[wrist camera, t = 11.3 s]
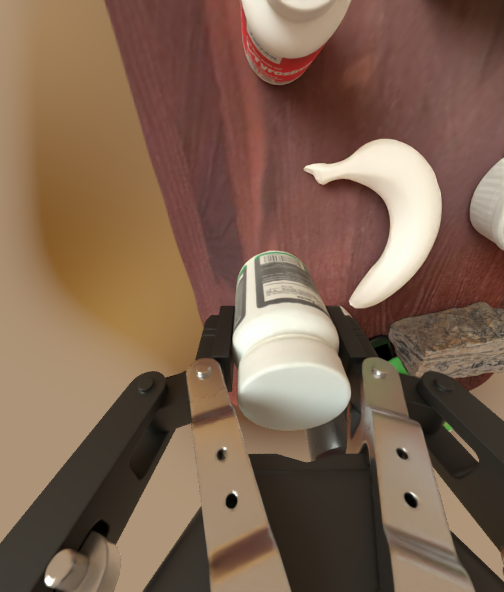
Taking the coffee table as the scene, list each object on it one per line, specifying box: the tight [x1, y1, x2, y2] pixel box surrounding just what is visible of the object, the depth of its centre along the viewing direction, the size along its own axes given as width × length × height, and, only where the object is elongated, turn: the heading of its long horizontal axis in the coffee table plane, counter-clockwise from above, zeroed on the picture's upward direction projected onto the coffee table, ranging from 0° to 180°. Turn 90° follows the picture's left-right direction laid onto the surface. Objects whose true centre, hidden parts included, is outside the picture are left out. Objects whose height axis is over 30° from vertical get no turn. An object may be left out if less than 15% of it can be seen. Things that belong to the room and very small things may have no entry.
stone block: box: [388, 302, 504, 378], centre depth 31 cm, size 14×9×8 cm, turn 99°
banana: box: [303, 139, 442, 308], centre depth 26 cm, size 5×19×15 cm
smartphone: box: [368, 335, 394, 361], centre depth 40 cm, size 7×15×1 cm, turn 29°
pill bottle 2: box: [231, 251, 351, 431], centre depth 11 cm, size 5×5×8 cm
